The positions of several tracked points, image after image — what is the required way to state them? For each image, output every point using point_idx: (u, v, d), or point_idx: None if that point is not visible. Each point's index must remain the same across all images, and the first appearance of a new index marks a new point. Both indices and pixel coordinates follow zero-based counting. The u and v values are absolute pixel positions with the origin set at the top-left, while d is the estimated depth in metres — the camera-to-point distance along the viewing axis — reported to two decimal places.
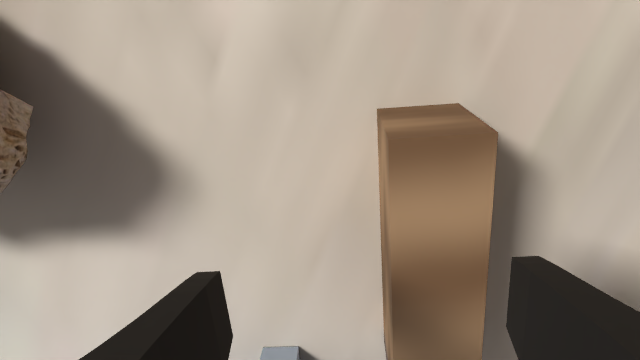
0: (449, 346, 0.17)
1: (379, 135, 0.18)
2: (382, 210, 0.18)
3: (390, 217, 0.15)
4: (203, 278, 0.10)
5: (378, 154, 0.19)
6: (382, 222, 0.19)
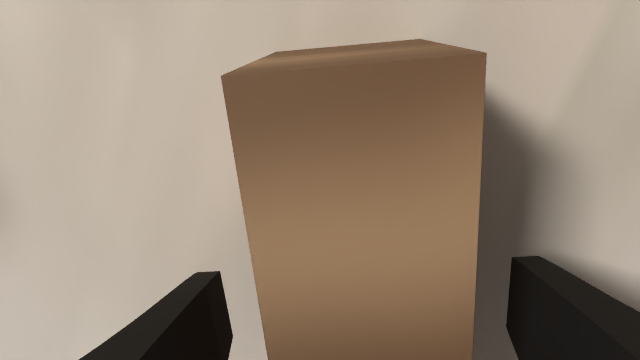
0: None
1: None
2: None
3: (254, 258, 0.07)
4: (203, 278, 0.10)
5: None
6: None
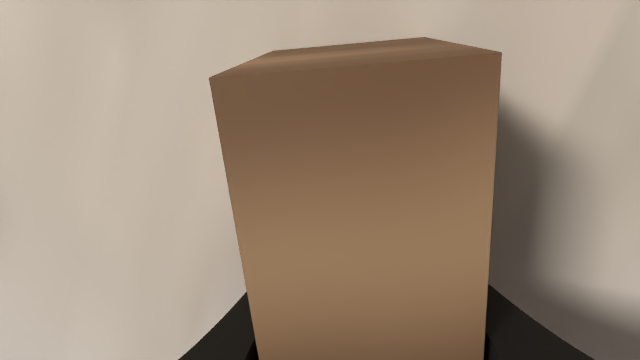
0: None
1: None
2: None
3: (247, 274, 0.06)
4: None
5: None
6: None
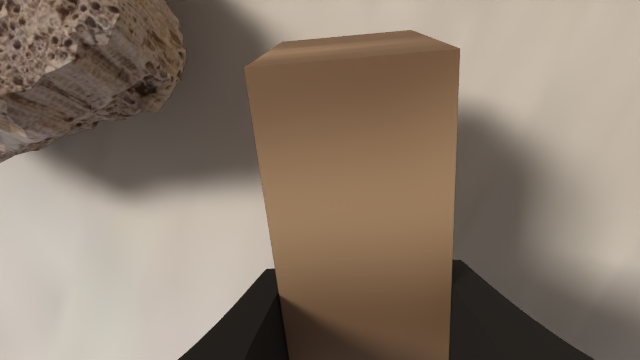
0: None
1: None
2: None
3: (269, 219, 0.08)
4: None
5: None
6: None
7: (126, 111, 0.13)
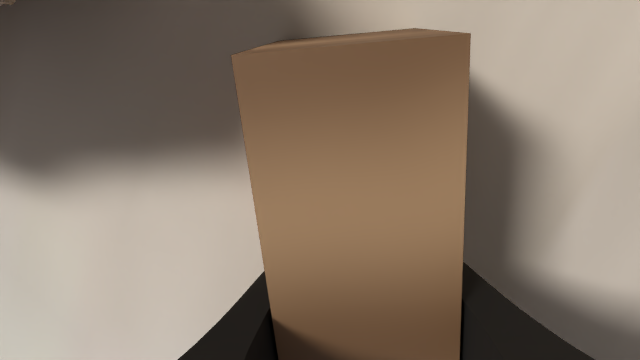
0: None
1: None
2: None
3: (260, 225, 0.07)
4: None
5: None
6: None
7: None
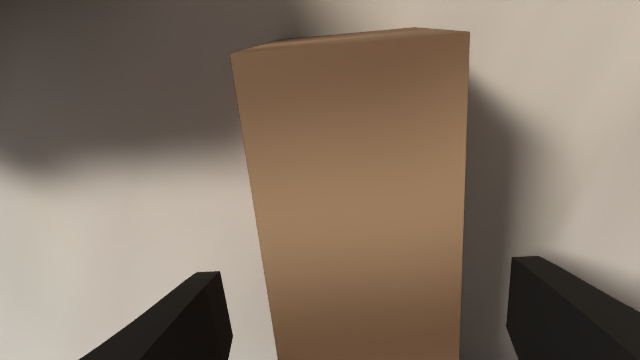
0: None
1: None
2: None
3: (259, 224, 0.07)
4: (203, 278, 0.10)
5: None
6: None
7: None
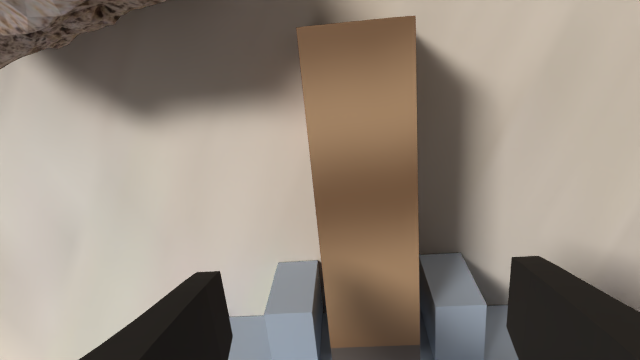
0: (383, 272, 0.15)
1: None
2: None
3: (307, 122, 0.14)
4: (203, 278, 0.10)
5: None
6: None
7: None
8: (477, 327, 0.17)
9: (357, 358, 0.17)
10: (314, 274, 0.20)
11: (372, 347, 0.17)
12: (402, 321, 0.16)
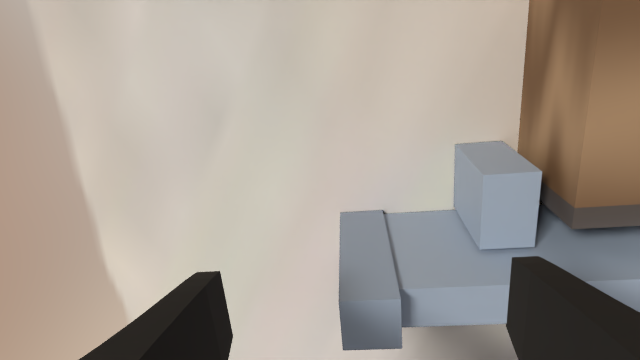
0: None
1: None
2: None
3: None
4: (203, 278, 0.10)
5: None
6: None
7: None
8: None
9: (604, 221, 0.14)
10: (510, 149, 0.17)
11: (626, 206, 0.14)
12: None
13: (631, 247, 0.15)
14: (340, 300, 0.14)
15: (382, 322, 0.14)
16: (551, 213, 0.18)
